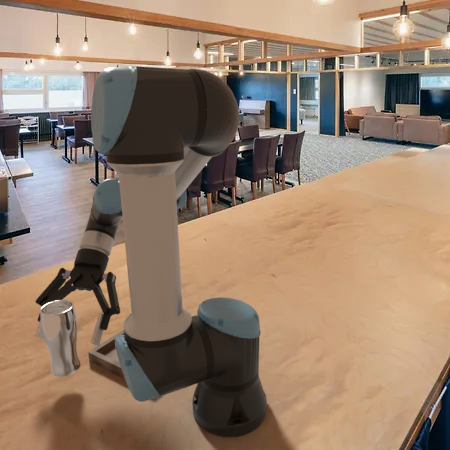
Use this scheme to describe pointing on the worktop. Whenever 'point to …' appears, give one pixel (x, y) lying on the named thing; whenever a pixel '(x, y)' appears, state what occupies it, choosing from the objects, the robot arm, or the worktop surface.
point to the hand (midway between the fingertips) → (66, 341)
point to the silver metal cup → (60, 336)
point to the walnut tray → (107, 356)
